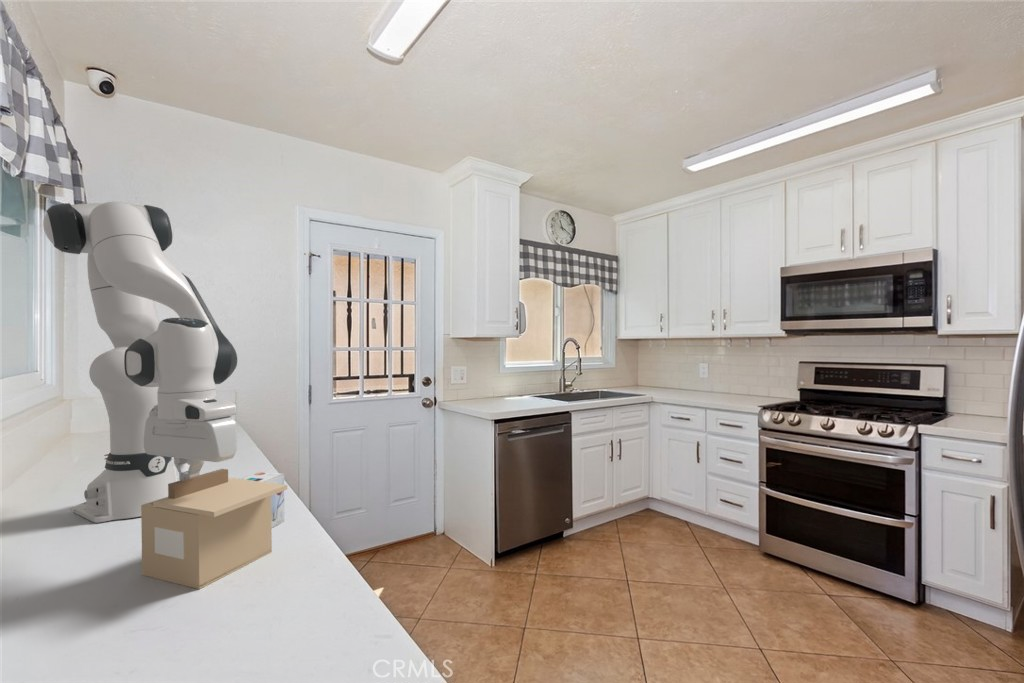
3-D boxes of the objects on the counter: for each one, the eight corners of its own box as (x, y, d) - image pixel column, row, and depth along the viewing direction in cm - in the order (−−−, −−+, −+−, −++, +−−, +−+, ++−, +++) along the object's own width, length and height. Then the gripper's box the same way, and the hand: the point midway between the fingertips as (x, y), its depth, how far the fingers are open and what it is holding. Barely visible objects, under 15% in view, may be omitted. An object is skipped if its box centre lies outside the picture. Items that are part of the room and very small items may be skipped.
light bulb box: (250, 541, 93) (249, 487, 93) (221, 538, 95) (220, 485, 94) (286, 520, 104) (285, 472, 104) (259, 518, 105) (259, 471, 105)
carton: (141, 575, 80) (140, 505, 80) (218, 541, 93) (217, 481, 93) (198, 589, 75) (197, 515, 75) (271, 551, 88) (270, 488, 88)
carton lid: (153, 506, 79) (152, 487, 79) (231, 481, 92) (230, 465, 92) (214, 517, 74) (213, 496, 74) (287, 489, 87) (287, 472, 87)
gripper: (132, 406, 86) (133, 481, 86) (210, 411, 79) (211, 492, 79) (167, 402, 92) (169, 471, 92) (243, 405, 85) (244, 481, 85)
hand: (189, 481), depth 85 cm, fingers closed
